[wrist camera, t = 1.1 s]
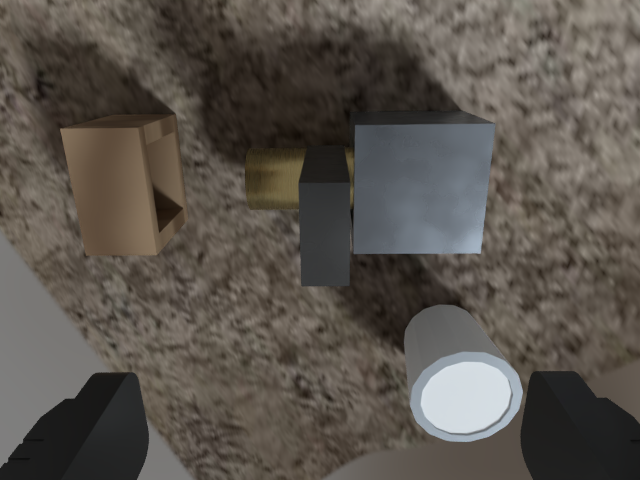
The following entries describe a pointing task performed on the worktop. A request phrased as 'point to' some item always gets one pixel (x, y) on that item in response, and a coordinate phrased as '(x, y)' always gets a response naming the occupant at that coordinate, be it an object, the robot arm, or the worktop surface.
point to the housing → (419, 181)
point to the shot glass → (458, 376)
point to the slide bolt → (309, 203)
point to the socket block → (126, 182)
